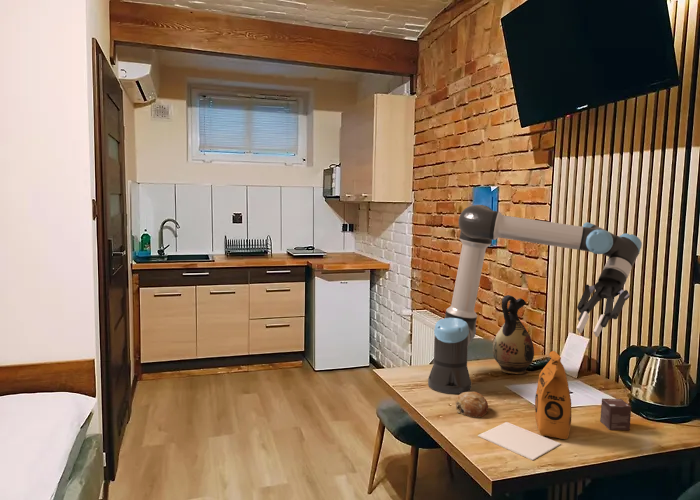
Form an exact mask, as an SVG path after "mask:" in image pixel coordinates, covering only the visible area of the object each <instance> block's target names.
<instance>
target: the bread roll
mask: <svg viewBox="0 0 700 500" xmlns="http://www.w3.org/2000/svg"><path fill="white" fill-rule="evenodd" d="M455 409H456V413H458V414H460V415H463V416H467V417H470V418H482V417H484V416H485V415H486V414H487V413H488V411H489V404H488V401H487V399H486V397H484V395H483V394H481V393H479V392H477V391H468V392H463V393H459V395H458V396H457V397H456V400H455Z"/></svg>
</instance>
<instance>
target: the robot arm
mask: <svg viewBox="0 0 700 500" xmlns="http://www.w3.org/2000/svg"><path fill="white" fill-rule="evenodd" d="M458 228H459V230H460V232H459V238H458V240H459V241H460V242H461V244H462V245H461V249H460V257H459V260H458V261H459V262H458V268H457V272H456V278H455V282H454V283H455V284H454V289H453V293H452V299H451V304H450V306H449V307H448V308H446V310H445V315H444V318H442V319H439V320H438V321H436V323H435V325H434V329H433V332H434V334H433V335H434V341H433V342H434V345H433V364H432V368H431V370H430V373H429V376H428V380H427V382H428V383H427V385H428V387H429V388H430V389H432V390H434V391H436V392H440V393H444V394H455V395H456V394H459V395H460V394H461V393H463V392H471V390H472V380H471V376H470V373H469V369H468V351H469V350H468V349H469V345H470V344H471V342H472V341H473V340H474V339H475V336H476V334H477V329H476V328H477V327H476V326H477V319H478V314H477V313H476V311H475V308H476V302H477V297H478V294H479V293H478V292H479V286H480V281H481V276H482V270H483V266H484V261H485V257H486V256H485V255H486V250H487V248H488V247H489V246H491V245H492V242H493V241H495V240H497V239H507V240H513V241H520V242H525V243H532V244H540V245H543V246H544V245H545V246H549V247H550V246H552V247H558V248H565V249H569V250H570V249H571V250H572V249H573V250H578V251H582V252H587V253H588V252H589V253H593V254H595V255H604V256H606V257H608V259H607V261H606V263H605V265H604V267H603V269H602V271H601V273H600V275H599V277H598V279H597V282H596V283H595V284H594V285H589V284H585V286H584V292H583V293H582V296H581V298H580V300H579V302H578V303H577V306H576V309H577V311H578V313H579V316H578V317H577V320H578V323H577V326H576V330H577V332H578V333H579V334H582V333H583V331H584V330H585V329H584V328H585V326H586V324H587V323H588V321H589V318H590V315H589V313H590V312H591V311H592V310H593V309H594V307H596V305H597V304H598V302H600V301H602V299H606V301H605V308H604V309H605V310H604V312H603V314H600V315H599V318H598V320H597V323H596V324H595V327H594V329H593V330H592V331H593V334H594V336H595V337H597V338H598V337H599V336H600V334H601V332H602V330H603V328H606V327H608V324H609V322H610V320H617V319H618V318H619V316H620V313H621V312H622V309H623V307H624V306H625V304H626V301H627V300H628V299H629V298H630V292H629V291H628V290H627V289H625V290H624V289H623V288H624V286H625V285H626V282H627V279H628V278H629V276H630V274H631V271H632V268H633V267H634V264H635V262H636V260H637V259H638V256H639V255H640V251H641V248H642V246H643V242H642V240H641V239H640V237H638V236H637V235H635V234H630V233H622V234H620V235H616V234H614V233H612V232H610V231H608V230H606V229H604V228H602V227H600V226H597V225H596V224H593V223H591V222H588V221H586V222H585V223H583V224H582V226H580V225H575V224H566V223H560V222H554V221H553V222H552V221H545V220H539V219H538V220H537V219H533V218H532V219H531V218H525V217H524V218H523V217H518V216H512V215H511V216H509V215H503V214H502V212H501V211H497V210H496V211H495V210H493V209H492V207H491V208H490V207H489V206H487V205H484V204H475V205H469V206H467V207H465V208H464V209H463V210H462V211H461V213H460V214H459V218H458ZM592 294H593V295H592ZM591 295H592V296H591ZM616 297H618V298H617V299H616V302H615V298H616ZM614 302H615V304H614Z"/></svg>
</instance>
